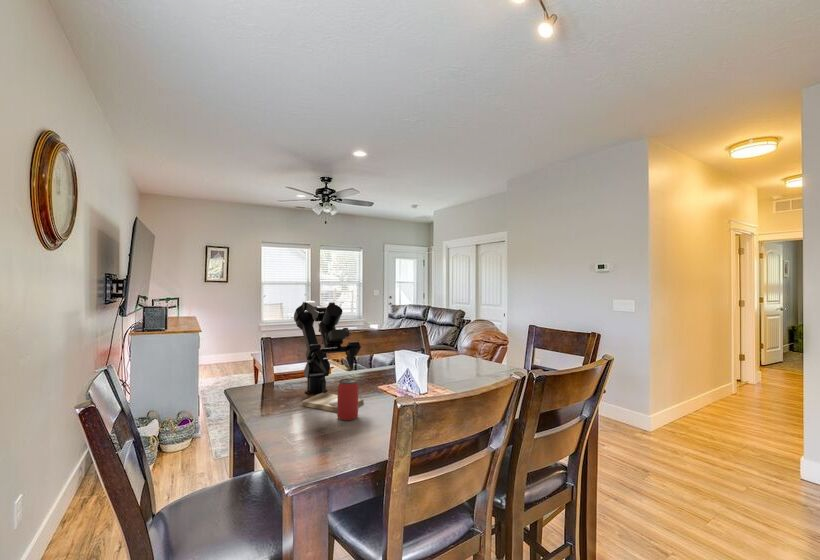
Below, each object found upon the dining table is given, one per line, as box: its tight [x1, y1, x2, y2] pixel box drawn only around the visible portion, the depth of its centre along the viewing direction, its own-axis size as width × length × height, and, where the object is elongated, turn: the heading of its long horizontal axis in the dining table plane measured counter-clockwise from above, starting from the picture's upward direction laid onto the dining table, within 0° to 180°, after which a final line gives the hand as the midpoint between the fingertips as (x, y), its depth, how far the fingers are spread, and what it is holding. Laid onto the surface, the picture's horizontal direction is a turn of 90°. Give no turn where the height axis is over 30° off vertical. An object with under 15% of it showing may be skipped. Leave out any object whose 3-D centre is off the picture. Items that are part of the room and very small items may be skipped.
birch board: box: [301, 392, 364, 413], centre depth 139 cm, size 18×12×2 cm, turn 66°
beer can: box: [336, 377, 359, 422], centre depth 126 cm, size 7×7×12 cm
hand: (339, 370), depth 133 cm, fingers open, 9 cm apart
